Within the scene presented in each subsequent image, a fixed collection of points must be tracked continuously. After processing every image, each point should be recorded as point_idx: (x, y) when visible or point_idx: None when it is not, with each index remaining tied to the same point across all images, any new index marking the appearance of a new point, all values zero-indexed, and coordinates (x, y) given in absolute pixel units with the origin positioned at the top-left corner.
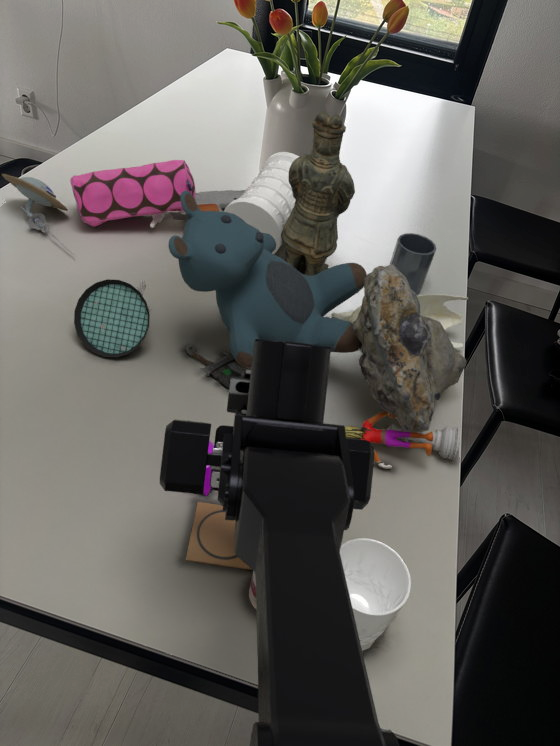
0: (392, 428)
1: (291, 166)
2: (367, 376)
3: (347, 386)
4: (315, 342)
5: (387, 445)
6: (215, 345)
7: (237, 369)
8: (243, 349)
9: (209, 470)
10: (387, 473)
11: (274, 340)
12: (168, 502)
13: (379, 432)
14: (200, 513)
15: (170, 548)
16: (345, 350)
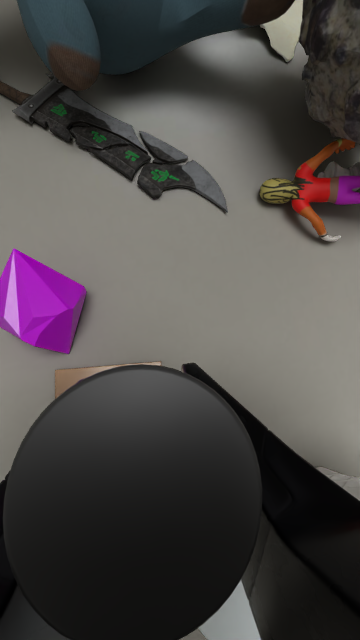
0: (338, 171)
1: None
2: (322, 65)
3: (250, 107)
4: (203, 4)
5: (337, 204)
6: (32, 63)
7: (76, 102)
8: (55, 36)
9: (53, 327)
10: (331, 247)
11: (120, 11)
12: (7, 381)
13: (327, 183)
14: (63, 391)
15: None
16: (265, 13)
